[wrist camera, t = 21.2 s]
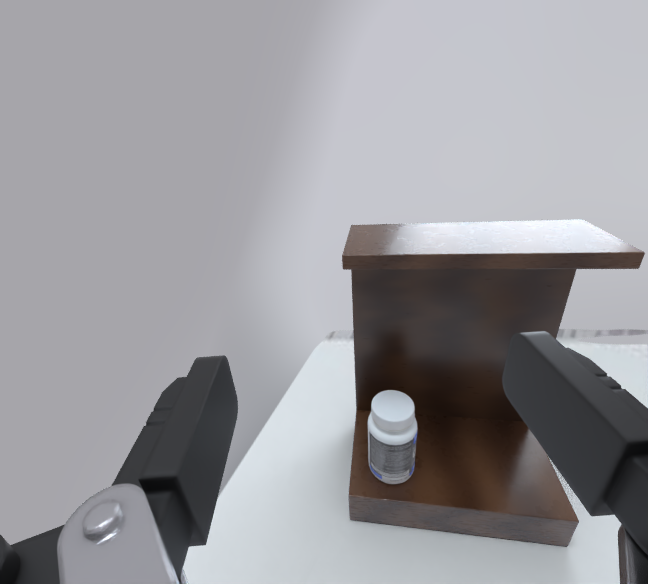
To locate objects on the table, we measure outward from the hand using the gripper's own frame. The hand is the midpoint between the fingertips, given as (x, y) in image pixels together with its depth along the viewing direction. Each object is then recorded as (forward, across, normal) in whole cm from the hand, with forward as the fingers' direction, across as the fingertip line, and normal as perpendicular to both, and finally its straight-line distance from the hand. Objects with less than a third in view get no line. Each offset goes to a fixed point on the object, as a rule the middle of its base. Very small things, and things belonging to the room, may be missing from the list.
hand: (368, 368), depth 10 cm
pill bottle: (+15, -4, +26) cm, 31 cm away
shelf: (+16, -11, +30) cm, 36 cm away
